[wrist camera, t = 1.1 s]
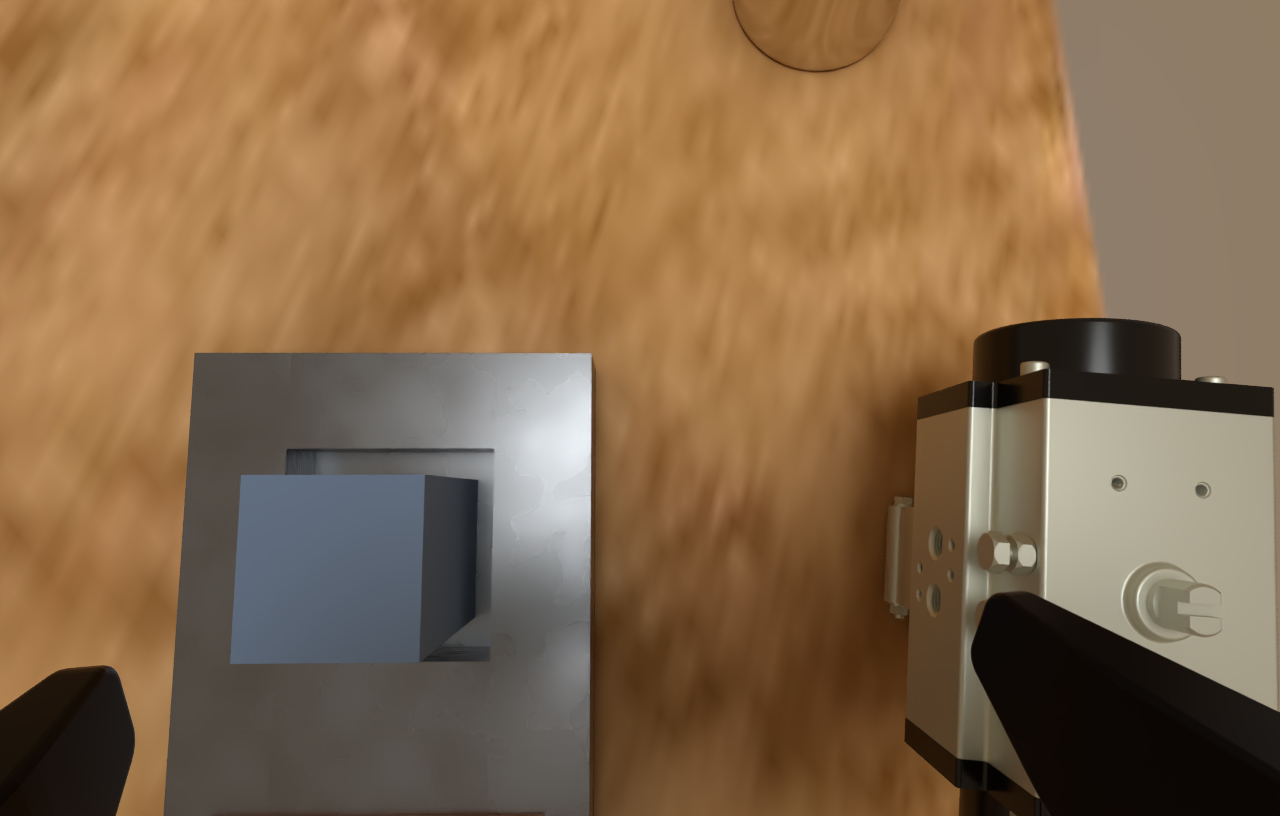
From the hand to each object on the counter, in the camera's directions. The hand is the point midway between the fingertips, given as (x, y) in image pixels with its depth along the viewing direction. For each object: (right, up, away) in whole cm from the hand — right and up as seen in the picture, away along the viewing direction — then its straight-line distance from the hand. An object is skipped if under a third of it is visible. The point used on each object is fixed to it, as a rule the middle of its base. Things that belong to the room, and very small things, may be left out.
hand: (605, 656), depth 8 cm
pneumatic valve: (+10, -2, +18) cm, 20 cm away
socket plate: (-7, -8, +17) cm, 20 cm away
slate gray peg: (-7, -2, +16) cm, 18 cm away
